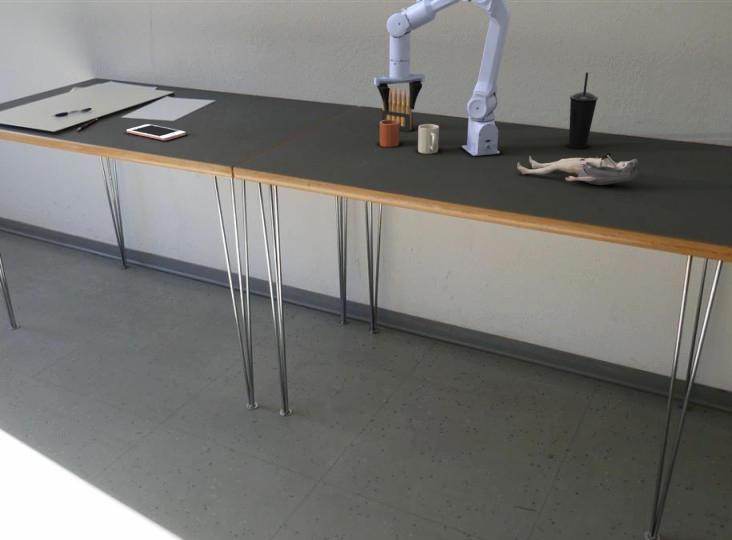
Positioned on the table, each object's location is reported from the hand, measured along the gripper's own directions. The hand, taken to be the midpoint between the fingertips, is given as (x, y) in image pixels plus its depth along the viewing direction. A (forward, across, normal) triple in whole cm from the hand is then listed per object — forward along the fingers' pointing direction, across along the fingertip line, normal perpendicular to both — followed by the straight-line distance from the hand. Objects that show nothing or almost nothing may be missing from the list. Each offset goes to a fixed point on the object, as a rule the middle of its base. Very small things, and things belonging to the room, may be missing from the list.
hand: (399, 109), depth 232 cm
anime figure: (+10, -32, +48) cm, 59 cm away
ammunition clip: (+10, -4, -16) cm, 19 cm away
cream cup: (+9, -5, +12) cm, 16 cm away
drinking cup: (+10, -47, +21) cm, 52 cm away
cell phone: (+9, +69, -33) cm, 77 cm away
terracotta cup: (+9, +3, 0) cm, 10 cm away
